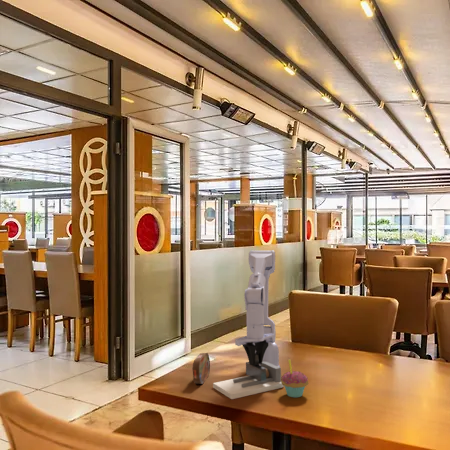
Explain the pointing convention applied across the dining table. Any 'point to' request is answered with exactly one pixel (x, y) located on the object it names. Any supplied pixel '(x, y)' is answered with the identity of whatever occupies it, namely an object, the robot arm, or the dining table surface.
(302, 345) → the dining table surface
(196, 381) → the tin
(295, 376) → the cupcake
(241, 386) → the board
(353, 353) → the dining table surface
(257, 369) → the sliding jaw
